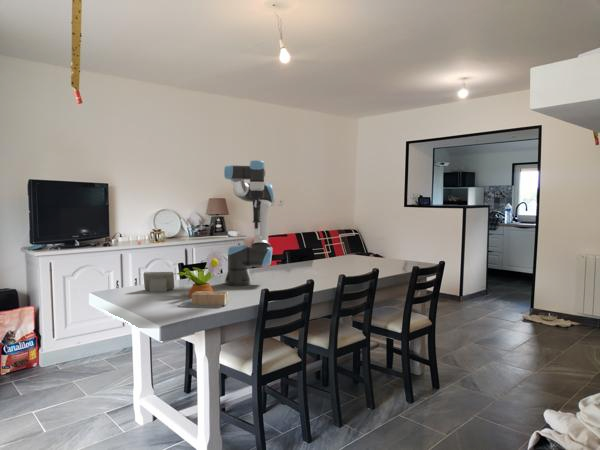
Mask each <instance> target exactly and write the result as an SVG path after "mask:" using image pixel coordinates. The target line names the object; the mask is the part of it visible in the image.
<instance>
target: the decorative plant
mask: <svg viewBox="0 0 600 450" xmlns="http://www.w3.org/2000/svg"><path fill="white" fill-rule="evenodd" d="M206 255H207V256H206V257H205V258H204V260H205V262H206V265H205V267H204V269H201V268H199V267H196V266H195V267H194V266H193V267H192V269H193V270H195V271H198V276H197V275H196V274H195V273H193V272H192V271H191V270H190V269H189V268H188V267H187V268H185V267H184V268H183V269H182V271H180V272H177V273H175V272H173V273H174V275H178V276H186V277H187V278H188V280H187V281H188V282H190V281H192V282H193V284H192V286H191V287H190V289H189V291H188V297H189V298H192V294H193V293H194V292H195V291H212V292H214V290H213V288H212V286H211V284H210V283H209V282H208V281H209V280H211V278H212V277H214V276H215V277H217V276H218V274H221V271H222V270H223V269H224V267H223V263H224V260H223V258H222V256H223V254H219V252H218V250H214V249H212V250H211V252H209V253H207V254H206ZM207 269H208V270H207ZM206 270H207V273H205V271H206Z"/></svg>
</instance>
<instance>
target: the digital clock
mask: <svg viewBox="0 0 600 450" xmlns="http://www.w3.org/2000/svg"><path fill="white" fill-rule="evenodd" d="M174 273H175V272H173V271H145V272H143V284H144V285H143V286H144V289H145V291H149V293H166V292H168V291H170V290H175V276H174V275H175V274H174Z"/></svg>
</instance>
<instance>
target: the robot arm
mask: <svg viewBox="0 0 600 450" xmlns="http://www.w3.org/2000/svg"><path fill="white" fill-rule="evenodd" d="M223 171H224V173H223V174H224V175H223V176H224V178H225V179H226V180H230V182H231V183H232V190H233V194H234V195H235V196H236V197H237V198H239V200H241V201H245V202H250V203H251V202H252V212H253V214H252V215H253V220H252V223H253V242H252V243H251V247H250V246H249V245H248V244H237V245H231V246H229V247H228V249H227V273H226V275H225V279H224V284H225V285H226V286H232V287H233V286H234V287H235V286H237V287H238V286H240V287H241V286H248V285H250V284H251V278H250V276H249V272H248V267H259V268H260V267H261V268H263V267H269V266H271V264H272V256H273V249H274V248H273V247H272V246H271V243H270V242H269V223H270V222H269V221H270V218H269V217H270V216H269V214H270V206H272V203H273V202H274V201H275V199H274V189H273V188H274V187H273V185H272V184H270V183H266V182H265V177H266V169H265V161H264V160H258V159H257V160H250V162H249V165H225V166H224V170H223ZM246 180H249V182H248V183H246Z"/></svg>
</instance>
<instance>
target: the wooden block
mask: <svg viewBox="0 0 600 450" xmlns="http://www.w3.org/2000/svg"><path fill="white" fill-rule="evenodd" d="M191 300H192V305H223V306H226V305H227V304H228V302H229V292H228V291H213V292H212V291H195V292H194V293H193V294H192V297H191Z"/></svg>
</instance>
